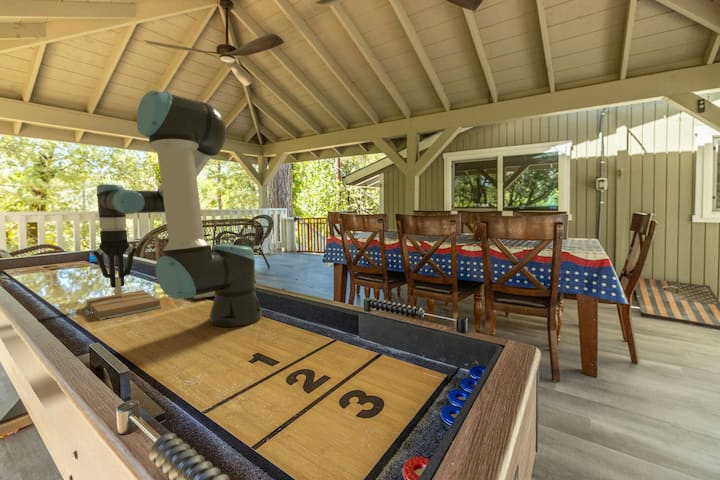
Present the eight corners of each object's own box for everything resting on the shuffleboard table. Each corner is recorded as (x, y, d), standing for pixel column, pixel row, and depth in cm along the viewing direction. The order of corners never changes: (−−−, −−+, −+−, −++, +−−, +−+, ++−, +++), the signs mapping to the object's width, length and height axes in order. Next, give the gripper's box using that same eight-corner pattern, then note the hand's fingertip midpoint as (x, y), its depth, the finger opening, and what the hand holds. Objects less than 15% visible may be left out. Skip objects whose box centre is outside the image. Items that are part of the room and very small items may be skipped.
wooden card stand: (161, 308, 116) (160, 300, 116) (99, 320, 103) (99, 312, 103) (142, 296, 130) (141, 289, 130) (86, 306, 117) (85, 299, 117)
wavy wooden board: (153, 301, 121) (152, 296, 121) (93, 312, 109) (93, 306, 109) (143, 295, 129) (143, 290, 128) (86, 304, 116) (86, 299, 116)
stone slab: (194, 279, 151) (221, 289, 129) (195, 286, 151) (222, 298, 129) (168, 283, 143) (193, 295, 122) (169, 291, 144) (193, 303, 122)
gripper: (132, 227, 125) (136, 290, 127) (87, 229, 115) (93, 297, 118) (138, 229, 120) (142, 294, 122) (92, 231, 110) (97, 301, 113)
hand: (118, 295), depth 120 cm, fingers closed
